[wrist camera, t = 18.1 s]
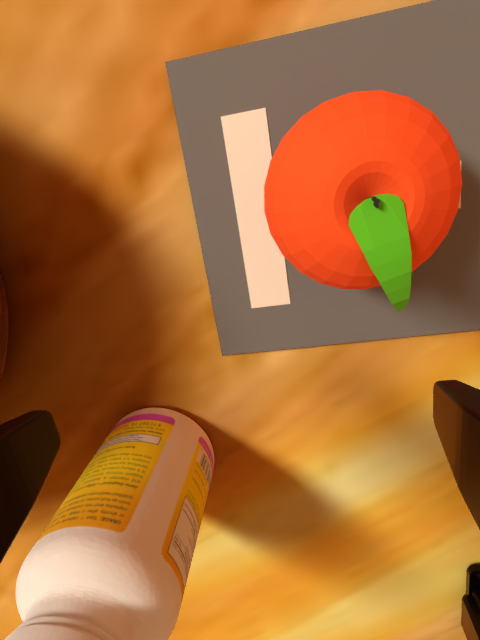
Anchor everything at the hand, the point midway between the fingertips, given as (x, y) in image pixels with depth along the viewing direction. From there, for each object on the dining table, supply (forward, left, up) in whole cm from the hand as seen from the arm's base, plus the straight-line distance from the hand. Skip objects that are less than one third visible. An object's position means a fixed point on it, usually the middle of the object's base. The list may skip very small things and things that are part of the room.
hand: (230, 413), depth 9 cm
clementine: (-4, -3, -12) cm, 13 cm away
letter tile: (-4, -3, -12) cm, 13 cm away
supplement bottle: (+8, +10, -12) cm, 17 cm away
